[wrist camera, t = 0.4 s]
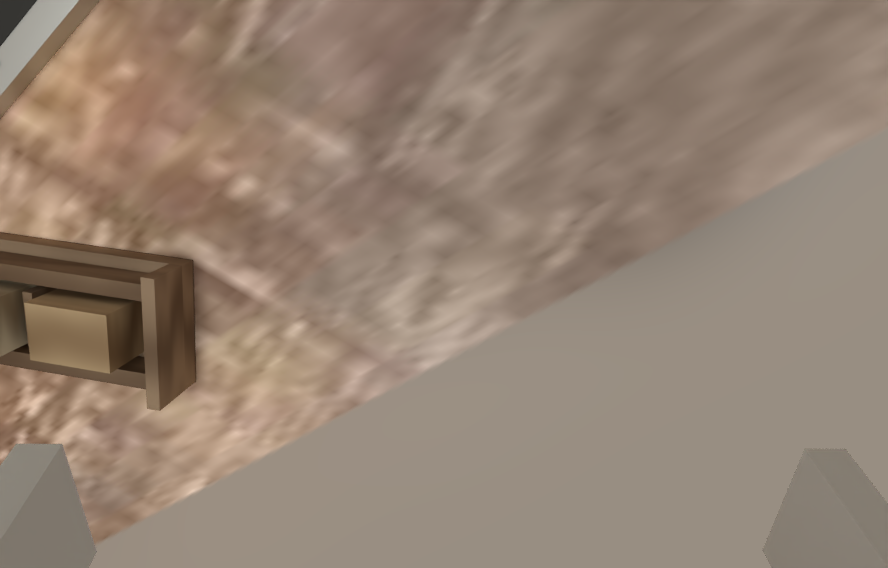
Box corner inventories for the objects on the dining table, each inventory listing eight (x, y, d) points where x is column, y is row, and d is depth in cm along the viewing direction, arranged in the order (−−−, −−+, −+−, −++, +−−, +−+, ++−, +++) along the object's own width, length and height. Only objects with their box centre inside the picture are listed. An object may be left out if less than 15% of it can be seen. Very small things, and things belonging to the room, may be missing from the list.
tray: (-72, 222, 43) (-134, 236, 39) (192, 260, 40) (154, 279, 36) (-55, 338, 45) (-111, 362, 41) (195, 381, 43) (159, 410, 39)
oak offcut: (67, 284, 41) (24, 302, 37) (143, 296, 40) (106, 315, 37) (72, 337, 42) (30, 360, 39) (146, 349, 41) (110, 373, 38)
